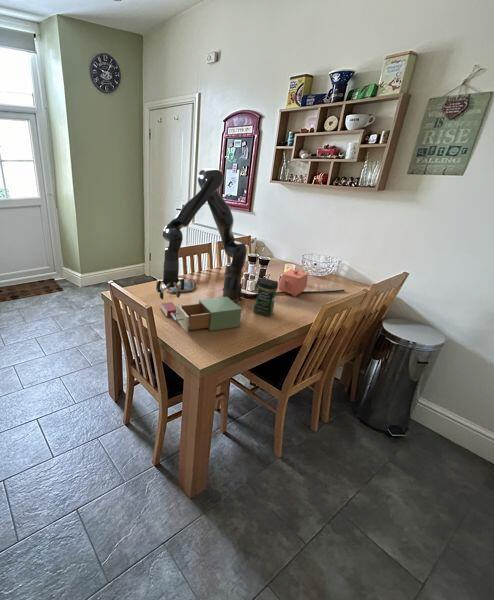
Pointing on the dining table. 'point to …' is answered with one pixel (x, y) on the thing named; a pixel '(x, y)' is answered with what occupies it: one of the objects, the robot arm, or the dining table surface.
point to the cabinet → (222, 313)
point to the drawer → (192, 316)
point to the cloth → (187, 287)
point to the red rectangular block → (168, 308)
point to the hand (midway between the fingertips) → (169, 298)
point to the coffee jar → (265, 296)
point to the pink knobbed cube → (293, 282)
